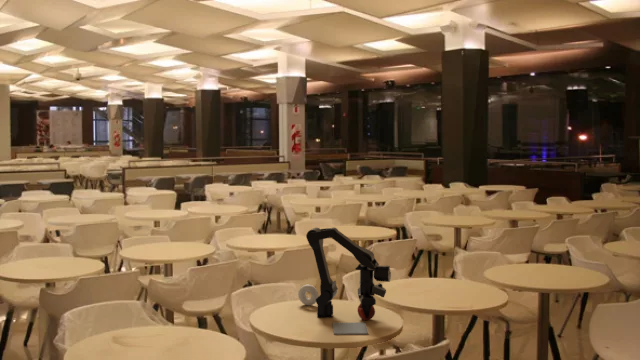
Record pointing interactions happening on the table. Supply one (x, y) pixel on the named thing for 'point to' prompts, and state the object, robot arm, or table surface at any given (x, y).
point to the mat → (350, 328)
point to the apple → (362, 315)
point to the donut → (304, 299)
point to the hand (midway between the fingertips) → (366, 315)
